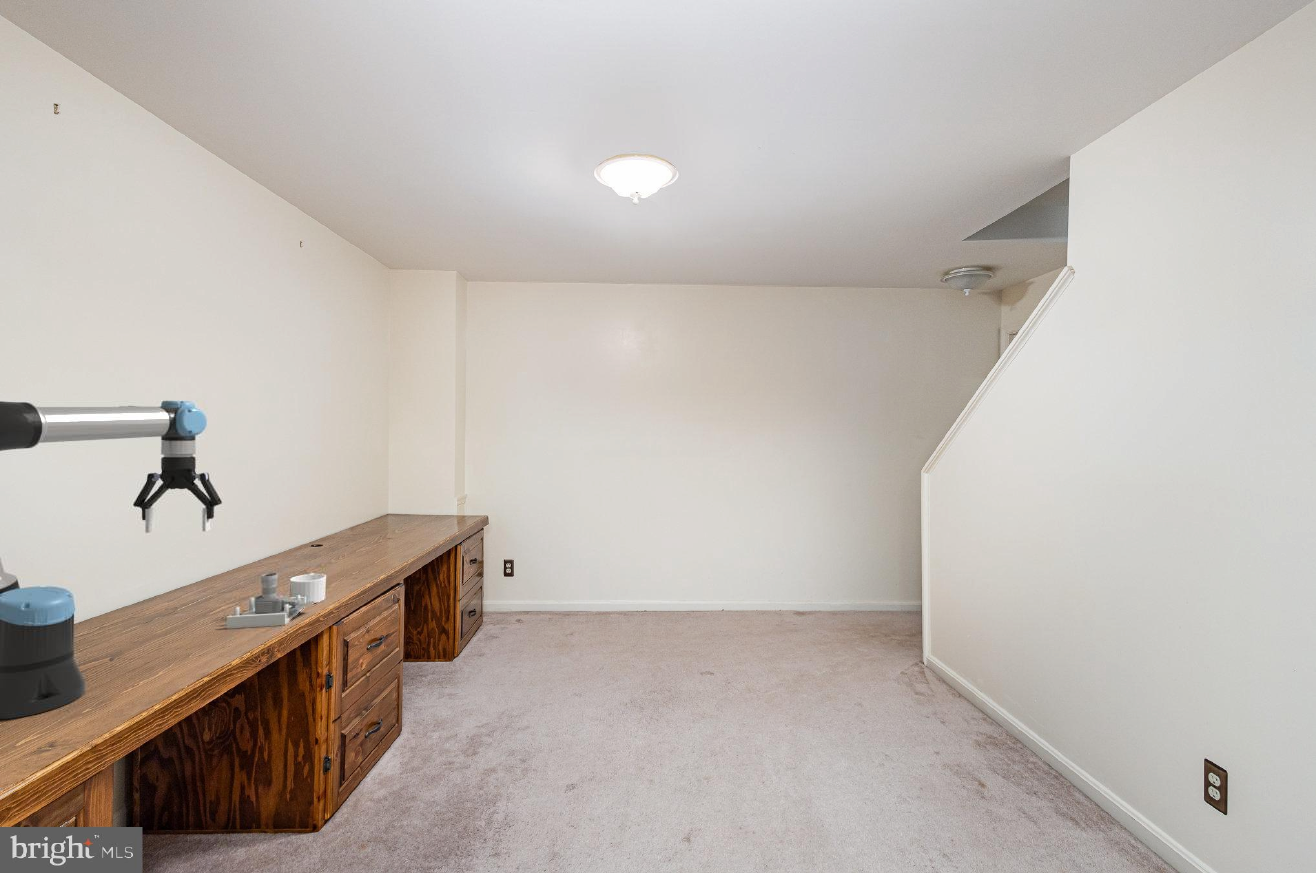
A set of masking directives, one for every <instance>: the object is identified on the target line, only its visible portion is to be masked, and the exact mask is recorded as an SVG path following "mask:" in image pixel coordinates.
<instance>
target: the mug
mask: <svg viewBox="0 0 1316 873" xmlns="http://www.w3.org/2000/svg"><path fill="white" fill-rule="evenodd" d="M326 582H327V575H326V574H323V573H314V572H310V573H308V574H302V575H300V574H299V575H297V576H292V577H290V579H289V592H290V594H289V598H290V597H296V595H300V597H306V603H307V602H311V601H314V602H315V603H316V602H320V601H322V600H324V599H325V600H326V588H327V586H326V585H327V583H326ZM325 600H324V601H325ZM313 604H314V603H313ZM314 605H315V604H314Z"/></svg>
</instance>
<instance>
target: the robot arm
mask: <svg viewBox="0 0 1316 873" xmlns="http://www.w3.org/2000/svg"><path fill="white" fill-rule="evenodd" d="M207 424H208V423H207V416H206V414H205V412H204V411H203V410H201V409H200V408H198V407H196V405H195V403H194V402H192V401H188V400H186V401H185V400H183V401H182V400H162V401H161V405H160V406H139V405H138V406H135V405H125V406H123V405H122V406H121V405H120V406H36V405H34V404H33V403H31V402H26V401H23V402H22V401H21V402H20V401H17V402H16V401H2V400H1V401H0V452H2V451H11V450H19V449H20V450H21V449H32V448H35V447H36V446H38V445H39V444H41V443H42V444H43V443H44V444H45V443H58V442H59V443H62V442H63V443H64V442H80V441H98V440H99V441H100V440H115V439H116V440H117V439H120V440H121V439H135V438H136V439H137V438H138V439H139V438H157V437H159V438H160V440H161V441H160V442H161V444H160V445H161V446H160V454H161V455H162V457H161V458H160V469H161V473H157V472H151V473H148V474H147V476H146V481H145V483H144V485H143V487H142V488H141V490H140V491H139V493H138V496H137V497H136V499H135V500H134V502H133V503H132V506H133V507H134V508H136V507H137V508H140V510H141V519H142V521H145V534H149V533H153V532H155V507H153V505H154V504H155V503H156V502H158V500H159V499H161V497H162V496H163V495H164V494H165V493H167V491H168V490H188V491H189V492H191V493H192V495H194V496H195V498H197V500H199V501H200V502H201V504H202V505H203V506H204V507H203V508H202V518H201V519H202V520H201V521H202V522H201V523H202V524H201V526H202V532H207V531H210V530H211V519H212V520H213V519H214V517H215V507H217V506H219V505H221V504H223V501H222V499H221V498H220V496H219V495H218V492H217V490H216V489H215V486H214V485H213V484H212V482H211V480H210V473H208V472H201V473H197V472H196V465H197V464H196V461H197V459H196V457H195V456H194V455H196V450H197V449H196V438H197V437H196V436H198V435H200V434H202V433H203V432H204V431H205V429H206V427H207ZM196 480H197V481H199V482H200V484H201V485H202V487H203V489H204V491H205V492H203V490H202V489H201V488H200V487H199V485H197V483H195V481H196ZM158 481H162V483H161V484H160V486H158V488H157V489H156V490H154V492H153V493H152V491H153V489H154V487H155V486H156V483H157V482H158ZM151 493H152V494H151ZM150 494H151V495H150ZM75 611H76V606H75V600H74V594H72V592H71V590H68V589H67V588H63V587H58V586H49V585H48V586H28V587H20V583H19V579H18V577H17V576H16V575H14V574H11V573H8V572H6V571H5V569H4V566H3V563H2V560H1V558H0V720H8V719H16V718H17V719H18V718H23V717H28V716H33V715H37V714H40V713H44V712H47V711H52V710H55V709H57V708H61V707H63V706H66V705H67V704H70V703H72V702H75V701H76V700H78V699H80V698H82V696H84V695H85V693H86V680H85V679H84V677H83V674H82V672H81V670H80V668H79V666H78V664H77V662H76V659H75Z"/></svg>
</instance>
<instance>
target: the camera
mask: <svg viewBox="0 0 1316 873" xmlns="http://www.w3.org/2000/svg"><path fill="white" fill-rule="evenodd" d="M278 577H279V574H278V573H277V572H267V573H263V574H261V576H260V583H261V584H262V585H261V594H260V595H258V596H255V597H254V599H255V614H273V613H284V605H285V604H289V605H291V606H292V607H290V608H289V613H291V612H296V611H299V610H301V609H303V608H304V609H305V608H306V607H309V606H312V605H311V604H313V603H315V602H314V601H311V602H307V603H303V604H299V600H295V599H290V595H288V594H277V583H278V579H279V578H278ZM298 604H299V605H298ZM304 609H303V610H304Z"/></svg>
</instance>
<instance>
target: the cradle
mask: <svg viewBox="0 0 1316 873" xmlns="http://www.w3.org/2000/svg"><path fill="white" fill-rule="evenodd" d="M289 598H290V599H295V600H299V604H303V603H306V597H300V595H296V597H290V596H289ZM299 604H298V605H299ZM290 607H292V606H291V605H289V604H285V605H284V613H273V614H255V597H253V596H250V597H249V598H248V610H247V611H245V612H244V613H242V614H240V606H234V609H233V610H234V612H233V614H234V615H227V616H226V629H227V630H229V629H245V628H262V627H263V628H264V627H279V625H282V626H286V625H287V624H288V623H289V622H291V621H292V620H293V619H294V618H295V617H297V615H299V614H300V613H301V612H302V611H303V610H302V609H301V610H302V611H301V610H299V611H296V612H291V613H289V608H290ZM300 611H301V612H300ZM299 612H300V613H299ZM298 613H299V614H298ZM293 617H294V618H293ZM292 618H293V619H292ZM291 619H292V620H291ZM290 620H291V621H290ZM285 624H286V625H285Z"/></svg>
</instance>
